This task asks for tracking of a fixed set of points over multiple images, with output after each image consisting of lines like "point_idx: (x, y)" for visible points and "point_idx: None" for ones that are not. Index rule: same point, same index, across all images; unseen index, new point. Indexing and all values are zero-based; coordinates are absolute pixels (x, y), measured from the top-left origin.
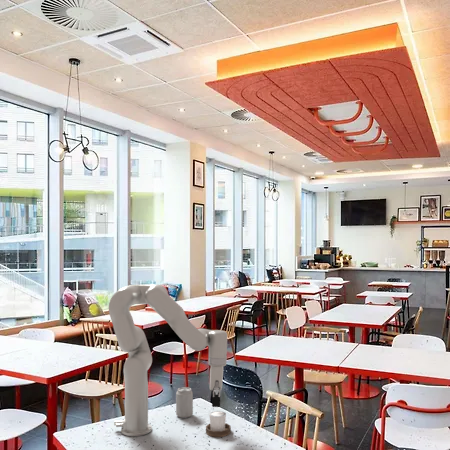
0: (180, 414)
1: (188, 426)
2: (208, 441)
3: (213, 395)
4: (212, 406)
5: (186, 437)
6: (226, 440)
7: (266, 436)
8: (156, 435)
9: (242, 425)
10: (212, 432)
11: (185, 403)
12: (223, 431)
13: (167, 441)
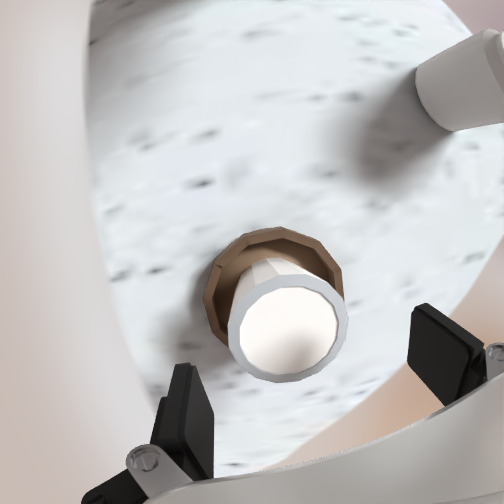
0: (420, 74)
1: (329, 120)
2: (148, 267)
3: (127, 467)
4: (176, 366)
5: (178, 141)
6: (180, 345)
7: (253, 453)
8: (190, 12)
9: (358, 372)
10: (208, 281)
11: (460, 82)
12: (219, 338)
13: (124, 74)
